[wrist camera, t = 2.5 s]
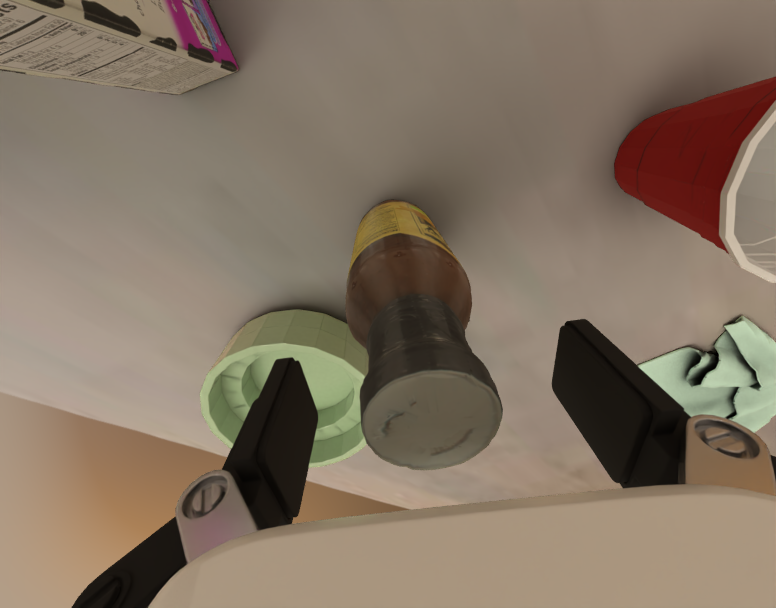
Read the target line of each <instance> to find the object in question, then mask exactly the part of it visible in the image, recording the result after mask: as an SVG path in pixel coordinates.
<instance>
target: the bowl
mask: <svg viewBox="0 0 776 608" xmlns="http://www.w3.org/2000/svg"><path fill="white" fill-rule="evenodd" d="M289 357H293V358H294V360H295V361H297V360H298V361H299V362H300V364H301V367H302V370H303V372H304V375H305V378H306V381H307V383H308V386H309V389H310V392H311V395H312V397H313V400H314V403H315V406H316V409H317V412H318V424H317V429H316V434H315V439H314V443H313V448H312V453H311V458H310V463H309V467H308V468H312V467H321V466H327V465H330V464H333V463H336V462H339V461H342V460H345V459H347V458H349V457H350V456H352V455H353V454H355V453H356V452H358V451H360V450H361V449H363V448H364V446H365V445H366V444H367V443H366V440H365V437H364V435H363V433H362V428H361V414H360V388H361V386H362V384H363V380H364V378H365V377H366V375H367V374H368V360H369V356H368V353H367V350H366V349H365V348H364V347H363V346H362V345H361V344H360V343H359V342H357V341H356V340H355V339H354V337H353V335H352V333H351V331H350V329H349V326H348V324H347V323H344V322H342V321H340V320H338V319H335V318H333V317H331V316H329V315H327V314H324V313H318V312H312V311H306V310H299V309H295V310H286V311H277V312H270V313H268V314H265V315H263V316H261V317H258V318H256V319H254V320H252V321H249V322H248V323H246V324H245V325H244V326H243V327H242V328H241V329H240V330H239V331H238V332H237V333H236V334H235V335H234V336H233V337H232V339H231V340H230V341H229V343H228V344H227V346H226V347H225V349H224V350H223V352H222V353H221V355H220V356H219V358H218V359H217V361H216V362H215V364H214V365H213V366H212V368H211V369H210V371H209V372H208V374H207V376H206V379H205V381H204V384H203V386H202V389H201V391H200V402H201V411H202V415H203V417H204V419H205V421H206V422H207V424H208V426H209V428H210V429H211V431H212V433H213V434H214V435H216V436H217V437H218V438H219V439H220V440H221V441H222V442H223V443H224V444H226V445H227V446H228V447H229V448H230V449H232V447H233V444H234V442H235V440H236V438H237V436H238V434H239V431H240V429H241V427H242V425H243V423H244V421H245V418H246V416H247V414H248V412H249V410H250V408H251V405H252V403H253V402H254V400H256V399H257V398H259V395H260V393H261V391H262V389H263V386H264V384H265V382H266V380H267V378H268V375H269V373H270V371H271V369H272V366H273V364H274V362H275V360H276V359H281V358H289Z"/></svg>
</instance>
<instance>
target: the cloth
mask: <svg viewBox="0 0 776 608" xmlns="http://www.w3.org/2000/svg"><path fill="white" fill-rule="evenodd" d="M724 327H725V328H726V331H725V332H724V333H723V334H722V335H721V336H720V337H719V338H718V340H717V342H716V344H715V346H714V347H715V348H716V350H717V352H718V353H719V357H717V356H715V355H714V354H707V352H701V351H699V350H697V349H694V348H690V347H687V348H682V349H678V350H675V351H673V352H670V353H667V354H664V355H662V356H660V357H657V358H655V359H652V360H649V361H647V362H644V363H642V364H640V365H637V366H638V367H639V368H640V369H641V370H643V371H644V372H645V373H646V374H647V375H648V376H649V377H650V378H651V379H652V380H654V381H655V382H656V383H657V384H658V385H659V386H660V387H661V388H662V389H663V390H664V391H666V392H667V393H668V394H669V395H670V396H671V397H672V398H673V399H674V400H675V401H677V402H678V403H679V404H680V405H681V406H682V407H683V408H684V411H685V412H686V413H687V414H689V415H690V416H691V417H693V416H695V415H700V414H706V415H715V416H719V417H724V418H726V419H729V420H732V421H734V422H737V423H739V424H741V425H742V426H744V427H746V428H748V429H749V430H751V431H752V432H753V433H755V432H756V431H757V430H759V429H760V428H761V427H763V426H764V425H765V424H767V423H768V422H769V421H770V419H771V417H773V416H775V415H776V343H775V342H774V340H773V339H772V338H771V337H770V336H769V335H768V334H767V333H765V332H764V331H762V330H761V329H759V328H758V327H757V326H756V325H755V324H754V323H752V322H751V321H749V320H748V319H747V318H745V317H744V316H741V317H740V318H738V319H737V320H736V321H735V322H734V323H733V324H730V325H725V326H724Z"/></svg>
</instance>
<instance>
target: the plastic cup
mask: <svg viewBox="0 0 776 608" xmlns="http://www.w3.org/2000/svg"><path fill="white" fill-rule="evenodd" d="M614 167H615V179H616V180H617V182H618V184H619V186H620V187H621V188H622V189H623V190H624V192H626V193H628V194H630V195H631V196H633V197H635V198H637V199H639V200H641V201H643V202H644V204H645V205H647V206H649V207H650V208H652V209H654V210H656V211H658V212H660V213H662V214H663V215H665V216H667V217H669V218H671V219H673V220H675V221H676V222H678V223H680V224H682V225H684V226H686V227H688V228H689V229H691V230H693V231H695V232H697V233H699V234H700V235H701V237H703V238H705V239H707V240H709V241H710V242H712V243H714V244H715V245H716V246H717V247H719V248H721V249H723V250H725V251H726V253H728V254H730V256H731V258H732V260H733V262H734V263H735V264H736V265H738V266H739V267H741V268H743V269H745V270H747V271H749V272H751V273H753V274H755V275H757V276H759V277H761V278H763V279H765V280H767V281H769V282H771V283H776V77H773V78H769V79H766V80H763V81H759V82H756V83H753V84H750V85H746V86H743V87H740V88H736V89H733V90H730V91H726V92H723V93H720V94H716V95H713V96H710V97H706V98H704V99H702V100H699V101H697V102H694V103H691V104H687V105H683V106H679V107H676V108H672V109H669V110H666V111H664V112H661V113H659V114H657V115H654V116H652V117H650V118H648V119H646V120H644V121H643V122H642V123H640V124H639V125H638V126H637V127H636V128H634V129H633V130H632V131H631V132H630V133H629V135H628V136H627V137H626V139H625V140H624V142H623V143H622V145H621V146H620V148H619V151H618V154H617V157H616V160H615V163H614Z"/></svg>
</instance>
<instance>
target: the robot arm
mask: <svg viewBox="0 0 776 608" xmlns="http://www.w3.org/2000/svg"><path fill="white" fill-rule="evenodd" d="M552 388H553V391H554V393H555V395H556V396H557V398H558V399H559V401H560V402H561V404H562V405H563V407H564V408H565V410H566V411H567V413H568V414H569V416H570V417H571V419H572V420H573V422H574V423H575V425H576V426H577V428H578V429H579V431H580V432H581V434H582V435H583V437H584V438H585V440H586V441H587V443H588V444H589V446H590V447H591V449H592V450H593V452H594V453H595V455H596V456H597V458H598V459H599V461H600V462H601V464H602V465H603V467H604V468H605V470H606V471H607V473H608V474H609V476H610V477H611V478H612V480H613V481H614V482H616V483H620V484H621V486H622V487H623V488H621V489H609V490H598V491H588V492H578V493H568V494H558V495H548V496H538V497H528V498H518V499H509V500H499V501H489V502H480V503H470V504H461V505H452V506H442V507H433V508H423V509H414V510H405V511H397V512H387V513H379V514H369V515H361V516H351V517H343V518H335V519H327V520H320V521H312V522H304V523H296V524H292V520H293V517H297V516H298V514H299V510H300V505H301V501H302V496H303V491H304V486H305V482H306V477H307V472H308V467H309V463H310V458H311V453H312V448H313V443H314V439H315V434H316V429H317V424H318V412H317V409H316V406H315V403H314V400H313V397H312V395H311V392H310V389H309V386H308V383H307V381H306V378H305V375H304V372H303V370H302V367H301V364H300V362H299V361H298V360H297V361H295V360H294V358H293V357H289V358H281V359H276V360H275V362H274V364H273V366H272V369H271V371H270V373H269V375H268V378H267V380H266V382H265V384H264V386H263V389H262V391H261V393H260V395H259V398H257V399H256V400H254V402H253V403H252V405H251V408H250V410H249V412H248V414H247V416H246V418H245V421H244V423H243V425H242V427H241V429H240V431H239V434H238V436H237V438H236V440H235V442H234V444H233V447H232V449H231V451H230V453H229V455H228V457H227V460H226V462H225V464H224V466H223V468H222V470H214V471H212V472H208V473H206V474H204V475H202V476H201V477H199V478H198V479H196V480H195V481H194V482H192V483H191V484H190V485H189V487H188V488H187V489H186V490H185V491H184V492H183V494H182V495H181V497H180V499H179V500H178V503H177V506H176V517H174V518H173V519H172V520H170V521H169V522H168V523H166V524H165V525H164V526H163V527H161V528H160V529H159V530H157V531H156V532H155V533H153V534H152V535H151V536H150V537H148V538H147V539H146V540H144V541H143V542H142V543H141V544H139V545H138V546H137V547H135V548H134V549H133V550H132V551H130V552H129V553H128V554H126V555H125V556H124V557H123V558H121V559H120V560H119V561H117V562H116V563H115V564H114V565H112V566H111V567H110V568H108V569H107V570H106V571H104V572H103V573H102V574H101V575H99V576H98V577H97V578H96V579H95V580H94V581H93V582H92V583H90V584H89V585H88V586H87V588H86V589H85V590H84V591H83V592H82V593H81V595H80V596H79V597H78V598H77V600H76V601H75V603H74V605H73V606H72V608H776V457H775V456H772V455H770V452H769V450H768V448H767V445H766V444H765V443H764V442H763V441H762V439H761V438H760V437H759V436H758V435H756V434H755V433H753V432H752V431H751V430H749V429H748V428H746V427H744V426H742V425H741V424H739V423H737V422H734V421H732V420H729V419H726V418H724V417H719V416H715V415H706V414H700V415H695V416H693V417H691V416H690V415H689V414H687V413H686V412H685V411H684V408H683V407H682V406H681V405H680V404H679V403H678V402H677V401H675V400H674V399H673V398H672V397H671V396H670V395H669V394H668V393H667V392H666V391H664V390H663V389H662V388H661V387H660V386H659V385H658V384H657V383H656V382H655V381H654V380H652V379H651V378H650V377H649V376H648V375H647V374H646V373H645V372H644V371H643V370H641V369H640V368H639V367H638V366H637V365H636V364H635V363H634V362H633V361H632V360H630V359H629V358H628V357H627V356H626V355H625V354H624V353H623V352H622V351H621V350H619V349H618V348H617V347H616V346H615V345H614V344H613V343H612V342H611V341H610V340H609V339H607V338H606V337H605V336H604V335H603V334H602V333H601V332H600V331H599V330H598V329H596V328H595V327H594V326H593V325H592V324H591V323H590V322H589V321H587V320H586V319H580V320H573V321H567V322H566V323H565V325H564V326H562V327H561V328H560V332H559V339H558V345H557V352H556V359H555V365H554V372H553V378H552Z"/></svg>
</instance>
